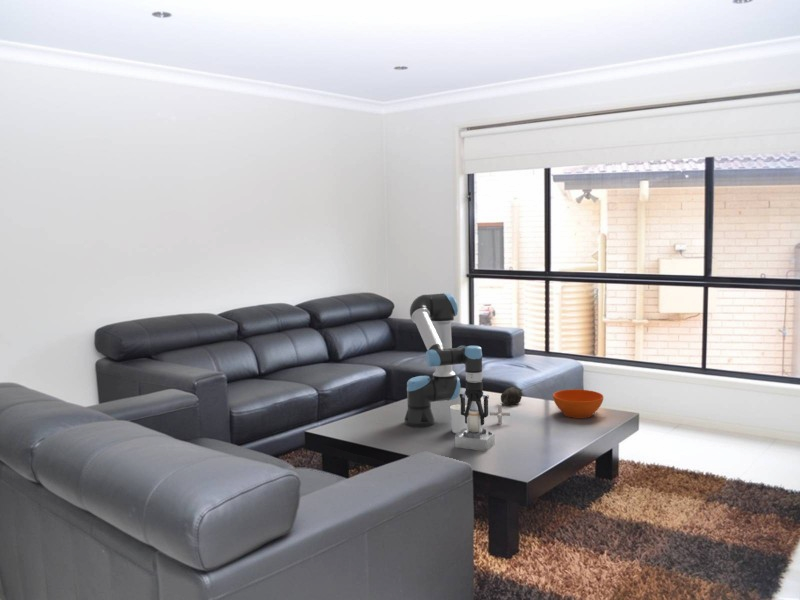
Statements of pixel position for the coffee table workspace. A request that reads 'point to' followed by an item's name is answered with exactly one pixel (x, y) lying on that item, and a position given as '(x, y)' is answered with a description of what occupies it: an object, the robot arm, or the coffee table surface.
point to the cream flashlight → (474, 420)
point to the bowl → (578, 402)
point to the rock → (511, 396)
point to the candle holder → (457, 418)
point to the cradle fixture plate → (475, 440)
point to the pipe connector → (500, 413)
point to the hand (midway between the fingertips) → (474, 431)
